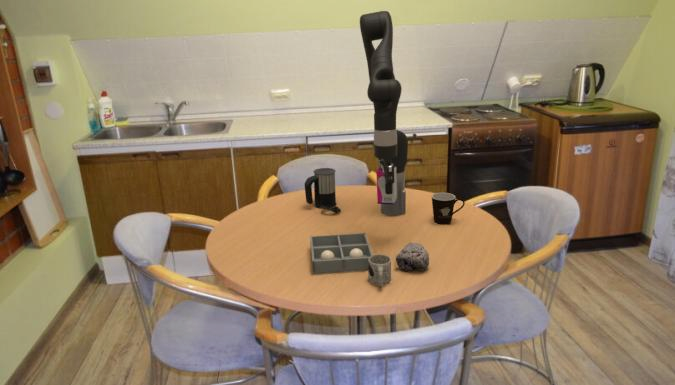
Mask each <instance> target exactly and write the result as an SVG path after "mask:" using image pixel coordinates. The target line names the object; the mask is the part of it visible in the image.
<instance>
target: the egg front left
mask: <svg viewBox="0 0 675 385" xmlns="http://www.w3.org/2000/svg"><path fill="white" fill-rule="evenodd" d="M349 257H350V258H360V257H363V252H362V251H361V250H360V249H358V248H355V249H352V250H351V251H350V254H349Z"/></svg>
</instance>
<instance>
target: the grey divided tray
mask: <svg viewBox="0 0 675 385" xmlns="http://www.w3.org/2000/svg"><path fill="white" fill-rule="evenodd" d="M309 238H310V239H309V240H310V242H309V243H310V253H311V265H312V266H311V267H312V274H313V275H321V274H336V273H350V272H351V273H352V272H365V271H366V272H367V271H368V259H369V257H370V256H372V255H374V254H373V250H372V247H371V245H370V243H369V239H368V236H367V234H366V232H359V233H357V232H354V233H342V234H341V233H340V234H338V233H337V234H327V235H323V234H322V235H310V237H309ZM355 248H358V249H360V250H361V251H362V252H363V257H360V258H350V257H349V254H350V251H351V250H352V249H355ZM326 250H329V251H332V252H333V254H334V257H335V258H334V259H331V260H321V254H322V252H324V251H326Z"/></svg>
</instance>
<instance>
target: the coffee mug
mask: <svg viewBox="0 0 675 385" xmlns="http://www.w3.org/2000/svg"><path fill="white" fill-rule="evenodd" d="M458 201H462V205H461V207H459V208H458V209H456V210H454V207H455V204H457V202H458ZM431 203H432V205H431V206H432V214H433V223H435V224H437V225H440V226H445V225H450V224H452V219H453V216H454V214H455V213H458V212H459V211H460V210H462V209H463V207H464V206H465V205H466V204H465V203H466V202H465V200H464V199H463V198H456V195H454V194H453V193H449V192H435V193H433V194H432V195H431Z"/></svg>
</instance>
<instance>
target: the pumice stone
mask: <svg viewBox="0 0 675 385" xmlns="http://www.w3.org/2000/svg"><path fill="white" fill-rule="evenodd" d="M395 262H396V265H397V266H398V267H399V268H400V269H401V270H403V271H406V272H414V271H426V270H427V269H428V267H429V265H430V257H429V252H428V251H427V249H426V248H425V247H424V246H423V244H421V243H419V242H412V241H409V242H408V243H407V244H406V245H404V247H403V248H402V249H401V251H400V252H398V254H396V256H395Z"/></svg>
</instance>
